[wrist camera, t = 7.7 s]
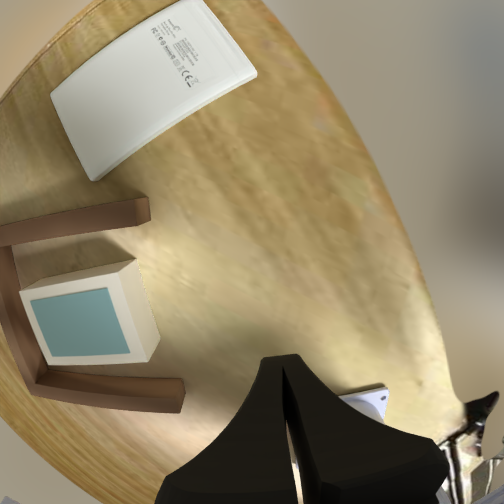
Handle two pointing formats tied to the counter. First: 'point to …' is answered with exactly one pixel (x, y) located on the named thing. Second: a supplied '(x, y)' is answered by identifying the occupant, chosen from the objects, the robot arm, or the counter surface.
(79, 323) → the card box
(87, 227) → the frame
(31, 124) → the counter surface
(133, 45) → the external hard drive
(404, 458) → the robot arm
